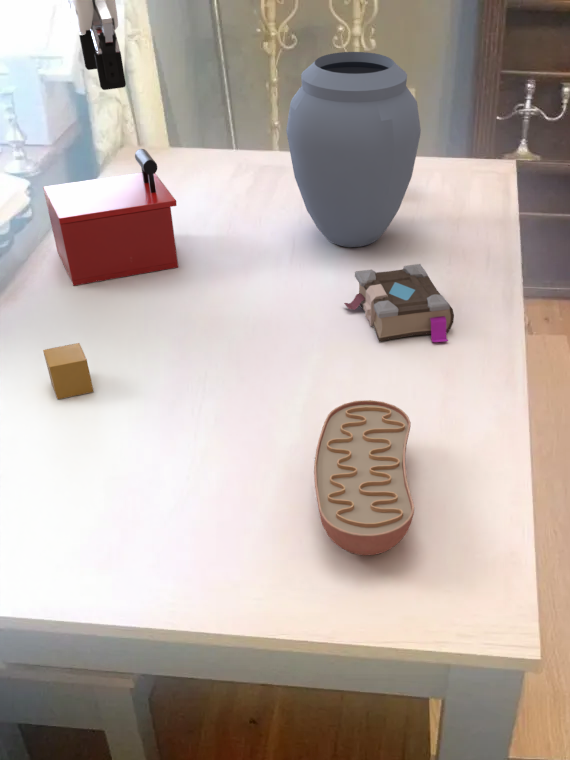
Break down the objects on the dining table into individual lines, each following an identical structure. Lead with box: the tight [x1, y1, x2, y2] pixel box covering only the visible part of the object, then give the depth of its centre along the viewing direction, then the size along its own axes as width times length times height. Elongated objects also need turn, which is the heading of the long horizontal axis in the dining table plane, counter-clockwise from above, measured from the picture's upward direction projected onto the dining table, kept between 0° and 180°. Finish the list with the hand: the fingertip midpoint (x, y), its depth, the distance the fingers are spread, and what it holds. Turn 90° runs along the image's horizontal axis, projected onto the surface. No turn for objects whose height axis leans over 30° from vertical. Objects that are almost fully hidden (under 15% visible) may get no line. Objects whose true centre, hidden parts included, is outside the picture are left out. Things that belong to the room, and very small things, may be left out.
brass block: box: [42, 342, 95, 400], centre depth 108 cm, size 4×4×4 cm
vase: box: [285, 51, 422, 248], centre depth 132 cm, size 20×20×24 cm
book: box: [343, 263, 455, 343], centre depth 122 cm, size 20×12×5 cm, turn 14°
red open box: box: [43, 192, 179, 287], centre depth 132 cm, size 16×13×9 cm
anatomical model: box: [313, 399, 415, 556], centre depth 92 cm, size 23×10×5 cm, turn 178°
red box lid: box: [42, 148, 177, 224], centre depth 128 cm, size 16×13×5 cm
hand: (105, 77), depth 118 cm, fingers open, 9 cm apart
